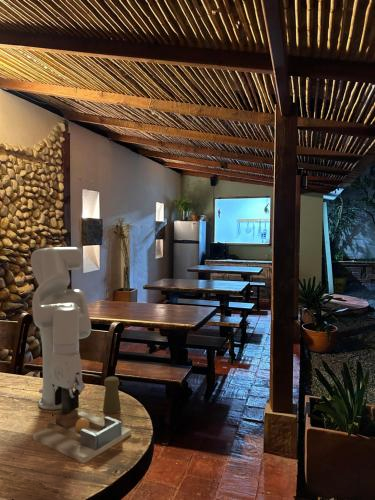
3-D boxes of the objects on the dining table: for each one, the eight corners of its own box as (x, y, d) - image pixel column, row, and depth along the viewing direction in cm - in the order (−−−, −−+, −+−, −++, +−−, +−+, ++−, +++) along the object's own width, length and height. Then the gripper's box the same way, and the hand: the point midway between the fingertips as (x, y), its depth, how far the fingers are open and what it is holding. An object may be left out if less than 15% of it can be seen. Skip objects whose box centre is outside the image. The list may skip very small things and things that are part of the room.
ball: (72, 432, 115) (72, 419, 115) (83, 427, 118) (83, 414, 118) (81, 436, 113) (81, 422, 113) (92, 430, 116) (92, 417, 116)
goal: (80, 444, 109) (80, 430, 108) (106, 429, 117) (106, 416, 117) (95, 450, 105) (95, 436, 105) (121, 435, 113) (121, 421, 113)
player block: (56, 426, 118) (55, 390, 118) (69, 419, 123) (68, 385, 122) (64, 429, 116) (64, 393, 116) (77, 423, 120) (77, 387, 120)
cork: (116, 414, 130) (116, 381, 130) (99, 412, 131) (99, 380, 131) (123, 406, 136) (123, 375, 136) (107, 404, 137) (106, 374, 137)
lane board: (33, 438, 114) (32, 428, 114) (81, 415, 129) (81, 406, 129) (84, 463, 102) (83, 452, 102) (131, 434, 117) (130, 424, 117)
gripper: (37, 346, 120) (38, 404, 121) (75, 355, 111) (75, 418, 111) (58, 340, 127) (58, 395, 127) (95, 349, 117) (95, 408, 117)
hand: (66, 405), depth 119 cm, fingers open, 5 cm apart
